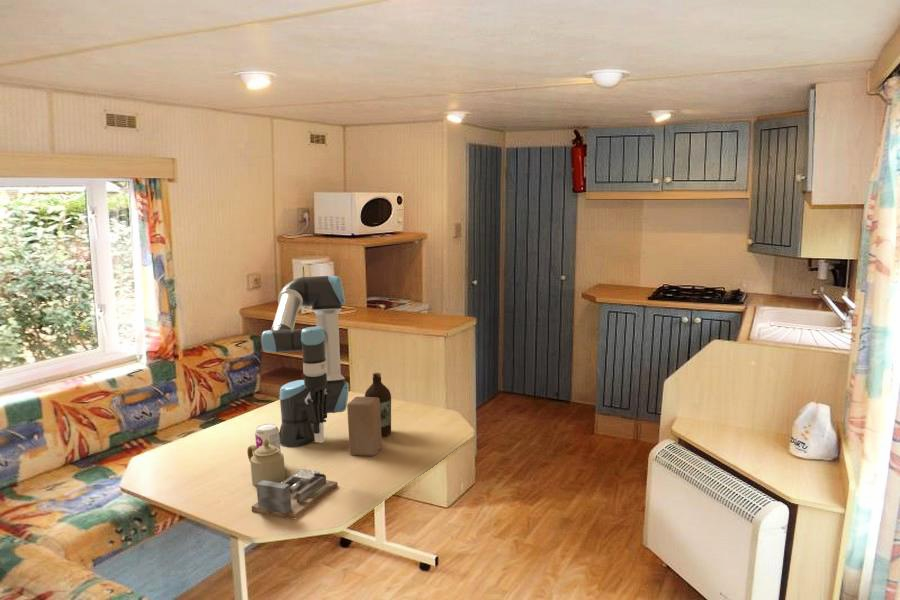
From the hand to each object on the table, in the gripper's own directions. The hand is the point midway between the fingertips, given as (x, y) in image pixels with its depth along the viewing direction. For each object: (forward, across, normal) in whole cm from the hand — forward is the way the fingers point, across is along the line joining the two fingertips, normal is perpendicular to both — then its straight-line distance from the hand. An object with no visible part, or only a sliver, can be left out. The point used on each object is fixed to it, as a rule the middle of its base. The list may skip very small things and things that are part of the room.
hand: (319, 441), depth 229 cm
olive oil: (+13, +46, +2) cm, 47 cm away
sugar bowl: (+14, -6, +19) cm, 25 cm away
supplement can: (+14, +4, +24) cm, 28 cm away
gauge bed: (+14, -14, 0) cm, 20 cm away
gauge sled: (+12, -11, -2) cm, 17 cm away
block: (+14, +28, -2) cm, 31 cm away
